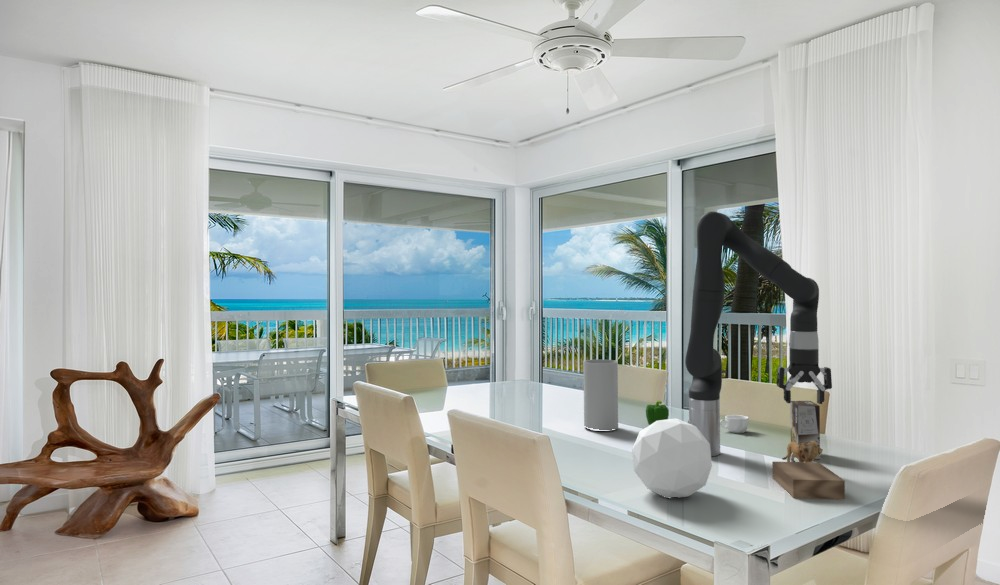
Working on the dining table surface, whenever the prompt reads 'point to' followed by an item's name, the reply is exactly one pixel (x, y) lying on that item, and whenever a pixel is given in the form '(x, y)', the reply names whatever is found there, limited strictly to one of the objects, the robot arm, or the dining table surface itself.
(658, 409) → the bell pepper
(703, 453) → the ball
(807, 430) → the coffee box
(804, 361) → the robot arm
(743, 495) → the dining table surface
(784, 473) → the walnut block
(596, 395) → the cylinder vase
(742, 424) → the teacup
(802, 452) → the lion figurine
